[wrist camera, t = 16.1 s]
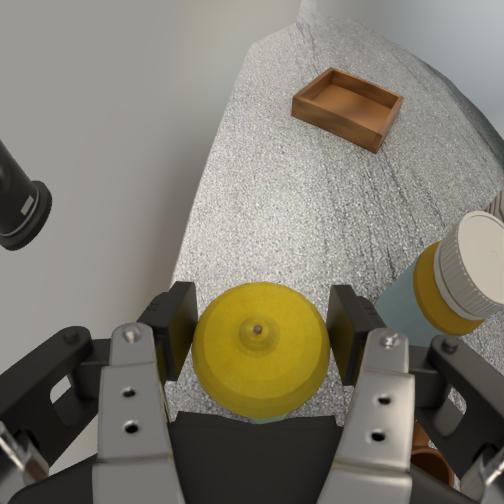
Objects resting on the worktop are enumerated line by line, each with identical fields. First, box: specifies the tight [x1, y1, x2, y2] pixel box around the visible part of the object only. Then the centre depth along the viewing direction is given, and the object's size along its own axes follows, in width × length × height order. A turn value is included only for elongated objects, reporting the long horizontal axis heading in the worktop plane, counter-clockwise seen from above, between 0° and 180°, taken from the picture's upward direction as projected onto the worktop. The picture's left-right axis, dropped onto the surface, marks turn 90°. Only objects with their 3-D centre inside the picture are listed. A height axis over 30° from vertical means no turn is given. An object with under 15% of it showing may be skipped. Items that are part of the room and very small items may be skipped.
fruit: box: [191, 282, 331, 419], centre depth 11 cm, size 6×6×8 cm
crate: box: [291, 67, 404, 154], centre depth 39 cm, size 14×14×4 cm
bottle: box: [374, 211, 504, 347], centre depth 19 cm, size 7×7×15 cm
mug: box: [410, 417, 454, 488], centre depth 16 cm, size 12×8×9 cm, turn 162°
